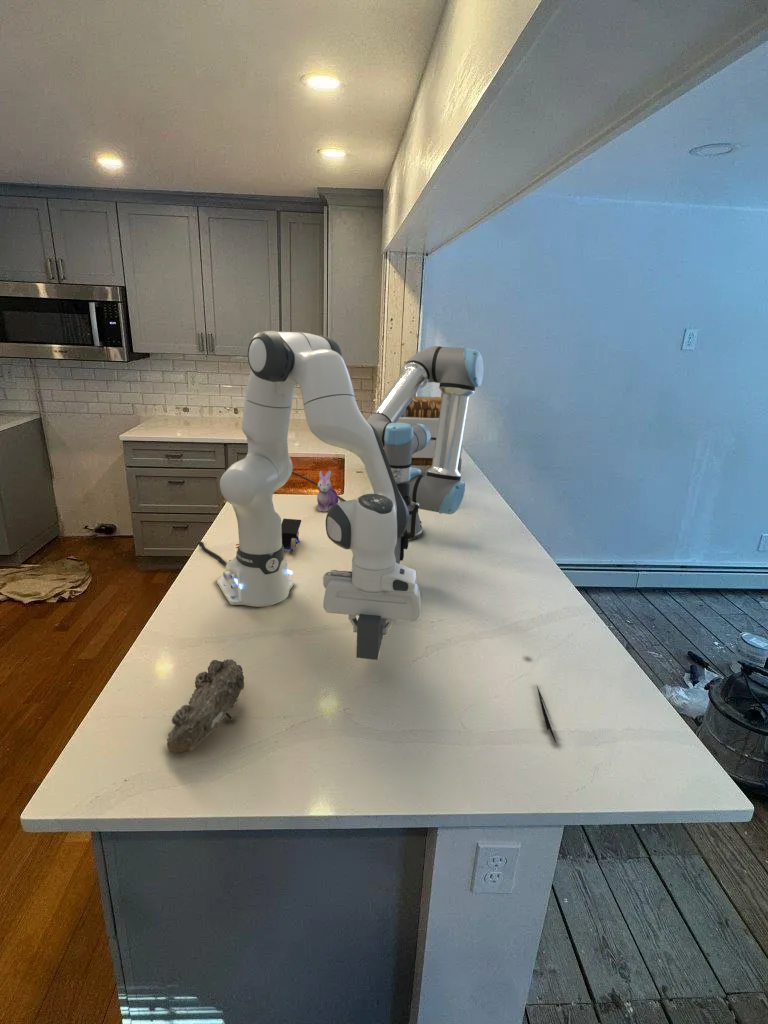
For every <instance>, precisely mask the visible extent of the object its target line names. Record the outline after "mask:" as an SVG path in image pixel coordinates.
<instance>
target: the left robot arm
mask: <svg viewBox="0 0 768 1024" xmlns="http://www.w3.org/2000/svg"><path fill="white" fill-rule="evenodd" d="M247 363H248V366H249V368H250V372H249V376H248V380H247V385H246V389H245V397H244V402H243V403H244V404H243V413H242V422H241V430H242V433H243V434H244V435H245V437H246V441H247V454H246V455H245V457H243V458H242V459H240V460H238V461H236V462H234V463H233V464H231V465H230V466H229V467H227V469H226V470H225V472H224V473H223V474H222V475H221V477H220V480H219V490H220V493H221V495H222V497H223V498H224V499H225V500H226V502H228V503H229V504H230V505H231V506H232V508H233V510H234V513H235V517H236V522H237V533H238V543H236V544H235V546H236V547H235V549H236V554H235V555H236V556H234V557H233V558H232V559H229V560H228V562H226V561H225V560H224V559H223V558H222V557H221V556H219V555H218V554H217V553H215V552H213V551H211V550H209V549H208V548H206V546H205V544H204V542H203V541H198V543H197V544H198V546H200V547H201V549H202V550H203V551H204V552H205V553H207V554H208V555H210V556H213V557H214V558H216V559H217V560H218V561H220V563H221V564H222V565H223V566H224V569H225V570H224V571H223V573H222V574H223V575H221V576H219V577H218V578H217V581H216V583H217V585H218V587H219V588H220V590H221V592H222V593H223V595H224V596H225V598H226V600H227V601H228V603H229V605H232V606H248V607H268V606H269V607H270V606H273V605H276V604H279V603H282V602H283V601H284V600H286V599H287V598H288V597H289V596H290V595H289V594H290V590H291V589H292V588H293V587H294V583H293V581H291V580H290V576H289V574H290V575H293V571H292V570H290V569H289V566H288V560H287V559H285V549H284V547H283V544H282V525H281V524H282V517H281V515H280V514H278V513H277V512H276V509H275V506H274V502H273V495H274V493H275V492H276V491H278V490H279V489H281V488H282V487H284V486H285V484H286V483H287V482H288V481H289V479H290V477H291V476H292V475H293V474H292V472H293V470H294V467H293V465H294V464H293V462H292V459H291V457H290V456H289V446H288V444H289V443H288V437H289V436H288V435H289V428H290V427H289V426H290V420H291V419H290V418H291V412H292V407H293V406H292V405H293V398H294V390H295V388H296V386H297V385H298V386H299V388H300V392H301V398H302V404H303V410H304V415H305V419H306V423H307V426H308V428H309V430H310V432H311V434H312V435H313V436H315V437H316V438H317V439H318V440H320V441H321V442H322V443H325V444H327V445H330V446H332V447H335V448H336V447H337V448H340V449H343V450H345V451H348V452H351V453H352V454H354V455H355V456H357V457H358V458H359V459H360V460H361V462H362V464H363V466H364V469H365V471H366V474H367V477H368V480H369V483H370V485H371V488H372V491H373V493H365V494H363V495H360V496H358V498H357V499H350V500H349V499H348V500H346V501H338V503H336V504H333V505H332V507H331V508H330V509H329V511H327V513H326V516H325V531H326V535H327V538H328V539H329V540H330V541H331V542H332V543H333V544H335V545H337V546H338V547H340V548H342V549H344V550H350V551H351V552H352V558H351V570H350V571H349V570H337V569H331V570H329V571H327V572H325V573H324V575H323V577H322V585H323V587H324V588H325V591H324V596H323V605H322V607H323V609H324V611H325V612H326V613H328V614H338V615H345V616H347V615H348V617H347V618H348V620H349V622H350V623H351V625H352V626H353V629H352V632H353V633H356V634H357V621H358V618H357V617H359V615H360V614H366V615H376V616H381V618H386V619H387V621H386V625H384V624H382V627H381V635H383V636H385V637H388V635H389V630H390V628H391V627H392V626H393V624H394V623H395V622H394V621H395V620H397V621H406V622H416V621H418V620H419V619H420V617H421V606H422V602H421V601H422V599H421V590H420V587H419V585H418V583H417V578H418V577H417V576H418V575H417V571H416V570H415V569H413V568H410V567H408V566H406V565H403V564H401V563H400V564H398V563H396V559H395V554H394V549H395V546H396V543H397V539H399V538H400V537H401V536H402V535H403V533H404V532H405V530H406V528H407V526H408V524H409V519H410V516H409V511H408V508H407V505H406V503H405V502H404V500H403V498H402V496H401V494H400V492H399V490H398V487H397V485H396V482H395V479H394V476H393V473H392V470H391V468H390V465H389V462H388V459H387V456H386V454H385V451H384V448H383V445H382V443H381V440H380V438H379V435H378V433H377V431H376V429H375V428H374V426H373V425H371V424H369V423H368V422H367V421H366V420H365V419H364V418H365V417H364V416H363V414H362V412H361V410H360V409H359V406H358V403H357V399H356V394H355V391H354V385H353V382H352V380H351V375H350V372H349V370H348V367H347V365H346V363H345V360H344V358H343V353H342V350H341V347H340V345H339V344H338V343H337V341H335V340H334V339H332V338H330V337H328V336H325V335H323V334H322V335H321V334H319V335H317V334H313V333H309V332H302V331H276V330H265V331H260V332H257V333H256V334H254V336H252V338H251V339H250V342H249V344H248V347H247Z"/></svg>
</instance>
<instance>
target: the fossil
mask: <svg viewBox="0 0 768 1024" xmlns="http://www.w3.org/2000/svg"><path fill="white" fill-rule="evenodd" d="M243 670H244V669H243V667H242V665H240V664H237V662H236V661H235V660H234V659H232V658H231V659H227V658H226V659H224V660H223V661H222V660H217V659H212V660H211V661H210V663H209V665H208V666H207V671H201V672H199V673H198V674H197V675H196V676H195V680H194V684H195V685H194V687H195V689H194V690H193V693H192V694H191V697H190V698H189V700H188V704H184V705H182V706H181V707H180V709H177V710H176V711H175V713H174V715H173V716H172V718H171V723H172V724H173V727H172V730H171V731H170V732H168V734H167V738H166V741H167V742H166V745H167V749H168V750H169V751H173V752H174V753H176V754H178V753H182V752H188V751H189V752H192V751H193V750H195V748H196V747H197V746H199V744H200V743H201V742H203V741H204V740H205V739H206V738H207V737H208V736H209V735H210V734H211V733H212V732H214V730H215V729H217V727H218V726H219V724H220V722H221V721H222V720H223V719H224V718H225V716H226V717H227V719H229V720H233V717H232V715H230V714H229V710H230V709H231V708H234V706H235V704H236V703H237V702H238V699H239V697H240V695H241V693H242V691H243V690H245V689H244V688H245V675H244V671H243Z"/></svg>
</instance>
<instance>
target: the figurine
mask: <svg viewBox="0 0 768 1024" xmlns="http://www.w3.org/2000/svg"><path fill="white" fill-rule="evenodd" d="M318 473H319V475H318V476H319V481H318V482H317V484H318V485H316V486H317V490H318V493H317V495H316V502H317V506H316V508H317V511H319V512H328V511H329V509H330V508H331V507H332V505H333V504H336V503H339V498H338V496H339V494H338V493H337V491H336V490H335V489H334V488H332V487H333V485H332V482H331V480H330V479H331V476H332V470H330V469H329V470H328V471H327V472H326V474H325V473H324V472H323V471H322V470H320V471H319V472H318Z"/></svg>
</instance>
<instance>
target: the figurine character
mask: <svg viewBox="0 0 768 1024" xmlns="http://www.w3.org/2000/svg"><path fill="white" fill-rule="evenodd" d="M301 523H302V519H297V518H295V519H294V518H283V519H282V520H281V525H282V544H283V547H284V550H290V551H289V553H290V554H293V552H294V550H296V549H297V545H298V544H300V542H301V541H300V539H299V536H300V531H299V529H300V527H301Z"/></svg>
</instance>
